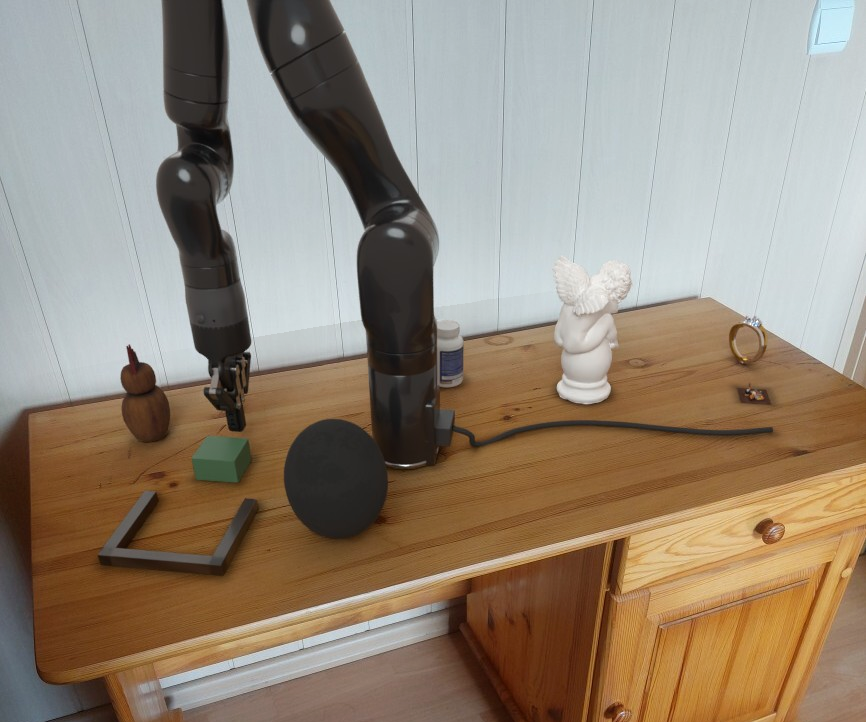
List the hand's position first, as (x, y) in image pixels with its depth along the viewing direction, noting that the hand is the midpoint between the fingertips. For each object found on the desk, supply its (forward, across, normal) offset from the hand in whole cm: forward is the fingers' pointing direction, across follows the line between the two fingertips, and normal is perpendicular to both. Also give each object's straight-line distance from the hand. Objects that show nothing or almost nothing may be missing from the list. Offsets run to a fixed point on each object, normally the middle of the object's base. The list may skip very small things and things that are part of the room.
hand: (237, 428), depth 118 cm
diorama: (+2, +25, -76) cm, 80 cm away
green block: (+2, -7, 0) cm, 8 cm away
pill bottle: (+2, +23, -27) cm, 36 cm away
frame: (+2, -22, 0) cm, 22 cm away
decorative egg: (+2, -19, -20) cm, 27 cm away
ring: (+2, +37, -76) cm, 85 cm away
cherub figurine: (+2, +21, -49) cm, 53 cm away
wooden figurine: (+3, 0, +14) cm, 14 cm away
